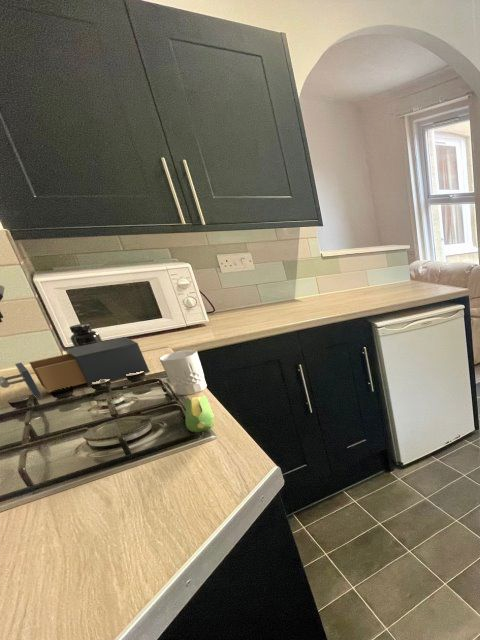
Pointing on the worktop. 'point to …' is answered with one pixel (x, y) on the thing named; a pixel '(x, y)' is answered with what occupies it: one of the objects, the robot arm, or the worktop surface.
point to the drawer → (49, 374)
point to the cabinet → (109, 359)
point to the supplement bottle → (84, 335)
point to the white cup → (184, 371)
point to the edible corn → (198, 414)
